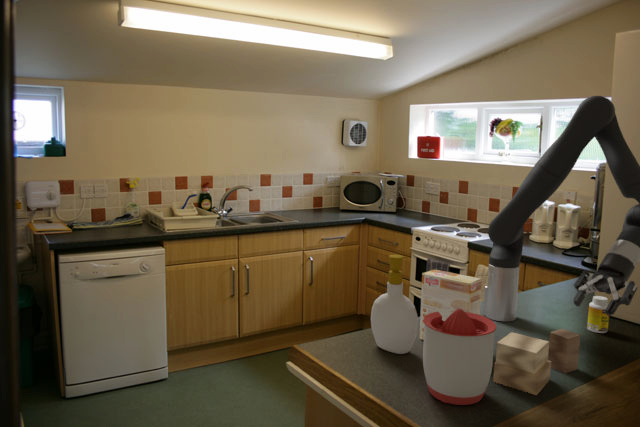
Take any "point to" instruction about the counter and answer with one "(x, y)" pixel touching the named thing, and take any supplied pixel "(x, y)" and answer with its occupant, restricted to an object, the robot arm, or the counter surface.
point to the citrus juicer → (458, 356)
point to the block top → (522, 352)
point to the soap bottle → (394, 314)
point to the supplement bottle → (598, 315)
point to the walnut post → (564, 350)
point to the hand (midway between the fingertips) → (591, 309)
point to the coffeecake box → (448, 294)
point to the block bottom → (522, 377)
